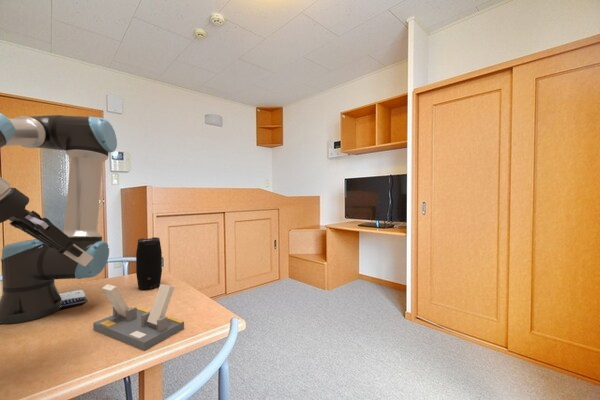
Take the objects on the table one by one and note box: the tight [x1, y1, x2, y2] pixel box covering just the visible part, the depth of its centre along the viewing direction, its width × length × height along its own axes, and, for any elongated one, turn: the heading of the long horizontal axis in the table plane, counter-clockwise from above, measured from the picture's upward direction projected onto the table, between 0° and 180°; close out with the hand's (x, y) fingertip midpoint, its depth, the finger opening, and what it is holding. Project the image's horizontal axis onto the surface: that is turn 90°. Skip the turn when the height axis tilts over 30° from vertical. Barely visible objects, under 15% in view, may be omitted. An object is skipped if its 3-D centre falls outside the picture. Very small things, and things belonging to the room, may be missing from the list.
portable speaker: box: [135, 236, 163, 291], centre depth 110 cm, size 9×9×20 cm
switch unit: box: [92, 305, 185, 351], centre depth 77 cm, size 22×12×5 cm, turn 64°
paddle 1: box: [101, 283, 130, 317], centre depth 78 cm, size 5×2×10 cm, turn 64°
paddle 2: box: [147, 283, 175, 326], centre depth 76 cm, size 5×2×10 cm, turn 64°
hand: (87, 261), depth 71 cm, fingers closed
